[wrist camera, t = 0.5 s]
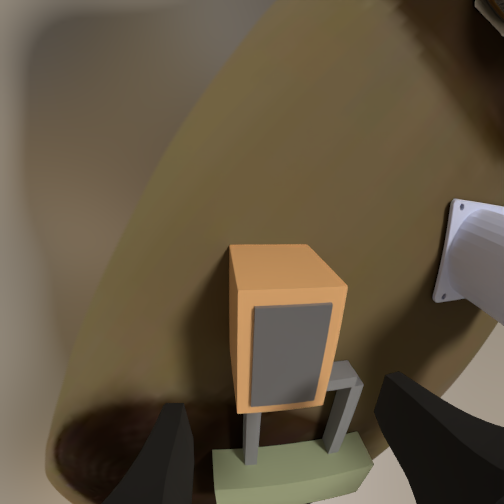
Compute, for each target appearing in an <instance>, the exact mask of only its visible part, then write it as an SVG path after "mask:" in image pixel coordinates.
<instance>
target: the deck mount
mask: <svg viewBox="0 0 504 504" xmlns="http://www.w3.org/2000/svg"><path fill="white" fill-rule="evenodd" d="M363 385H364V384H363V383H362V381H361V380H360V378H359V376H358V375H357V373H356V372H355V370H354V369H353V368H352V366H351V365H350V363H349V361H348V360H345V361H338V362H333V365H332V370H331V374H330V378H329V382H328V386H327V390H326V391H332V390H337V392H336V395H335V399H334V402H333V406H332V409H331V412H330V416H329V419H328V422H327V425H326V428H325V431H324V435H323V438H322V439H318V440H312V441H306V442H299V443H292V444H285V445H276V446H267V447H258V444H259V432H260V420H261V412H258V413H243V448H242V449H220V450H212V456H213V473H214V488H215V495H216V501H217V504H306V503H311V502H316V501H320V500H325V499H330V498H334V497H338V496H342V495H345V494H349V493H353V492H356V491H357V489H358V488H359V487H360V485H361V483H362V482H363V481H364V479H365V478H366V476H367V474H368V473H369V471H370V470H371V468H372V467H373V465H374V463H373V461H372V459H371V457H370V455H369V453H368V451H367V449H366V447H365V445H364V443H363V441H362V439H361V437H360V435H359V433H358V431H357V432H352V433H348V434H346V432H347V429H348V427H349V424H350V422H351V419H352V417H353V414H354V411H355V408H356V406H357V403H358V400H359V397H360V394H361V391H362V388H363Z"/></svg>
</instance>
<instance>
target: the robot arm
mask: <svg viewBox="0 0 504 504" xmlns="http://www.w3.org/2000/svg"><path fill="white" fill-rule="evenodd" d="M460 205H461V207H460ZM442 295H443V296H442ZM432 298H433V300H434V301H435V302H436V303H439V302H446V301H452V300H459V299H465V298H466V299H467V300H469V301H470V302H472V303H473V304H474V305H476V306H477V307H479V308H480V309H481V310H483V311H484V312H486V313H487V314H488V315H490V316H491V317H492V318H494V319H495V320H497V321H498V322H499V323H501V324H502V325H503V326H504V207H503V206H498V205H492V204H486V203H480V202H474V201H467V200H461V199H453V200H452V202H451V204H450V212H449V219H448V225H447V231H446V237H445V243H444V248H443V253H442V258H441V263H440V268H439V272H438V276H437V281H436V285H435V289H434V293H433V297H432ZM374 413H375V415H376V418H377V421H378V424H379V426H380V429H381V431H382V433H383V435H384V437H385V439H386V441H387V442H388V444H389V446H390V448H391V449H392V451H393V453H394V455H395V457H396V458H397V460H398V462H399V464H400V466H401V467H402V469H403V471H404V472H405V475H406V477H407V479H408V481H409V484H410V486H411V489H412V492H413V494H414V497H415V500H416V503H417V504H504V427H501V426H498V425H494V424H492V423H489V422H486V421H484V420H481V419H479V418H476V417H474V416H472V415H470V414H468V413H466V412H464V411H462V410H460V409H458V408H456V407H454V406H453V405H451V404H449V403H448V402H446V401H444V400H442V399H441V398H439V397H438V396H436V395H435V394H433V393H431V392H430V391H428V390H427V389H425V388H424V387H422V386H421V385H419V384H418V383H416V382H415V381H413V380H412V379H410V378H409V377H407V376H406V375H404V374H402V373H401V372H399V371H398V372H395V373H391V374H387V375H385V378H384V381H383V384H382V388H381V391H380V394H379V397H378V400H377V403H376V406H375V409H374ZM193 473H194V443H193V435H192V432H191V428H190V425H189V421H188V418H187V414H186V410H185V406H184V403H166V404H165V405H164V406H163V408H162V410H161V413H160V415H159V417H158V419H157V421H156V423H155V425H154V427H153V429H152V431H151V433H150V435H149V437H148V439H147V441H146V442H145V444H144V446H143V448H142V449H141V451H140V453H139V455H138V456H137V458H136V459H135V461H134V462H133V464H132V465H131V467H130V468H129V470H128V471H127V473H126V474H125V476H124V477H123V478H122V480H121V481H120V482H119V484H118V485H117V486H116V487H115V489H114V490H113V491H112V492H111V494H110V495H109V496H108V497H107V498H106V499H105V500H104V501H103V502H102V504H191V502H192V487H193Z"/></svg>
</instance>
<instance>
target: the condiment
mask: <svg viewBox="0 0 504 504" xmlns="http://www.w3.org/2000/svg"><path fill="white" fill-rule="evenodd" d="M475 7H476V8H477V9H478V10H479V11H480V12H481V14H482V15H483V16H484V17H485V18H486V19H487V20H488V21H489V22H490V23H491V24H492V25H493V26H494V27H495V28H496V29H497V30H498V31H499V32H500V33H501V35H502V36H503V37H504V0H475Z"/></svg>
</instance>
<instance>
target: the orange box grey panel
mask: <svg viewBox="0 0 504 504" xmlns="http://www.w3.org/2000/svg"><path fill="white" fill-rule="evenodd" d="M347 288H348V286H347V285H346V284H345V283H344V282H343V281H342V280H341V278H340V277H339V276H338V275H337V274H336V273H335V272H334V271H333V270H332V269H331V268H330V267H329V266H328V265H327V264H326V263H325V262H324V261H323V260H322V259H321V258H320V257H319V256H318V255H317V254H316V253H315V252H314V251H313V250H312V249H311V248H310V247H309V246H308V245H307V244H276V245H229V345H230V357H231V366H232V375H233V383H234V392H235V400H236V408H237V414H243V413H258V412H270V411H281V410H290V409H298V408H306V407H313V406H319V405H323V402H324V398H325V394H326V390H327V386H328V382H329V378H330V374H331V370H332V365H333V361H334V357H335V352H336V347H337V343H338V338H339V333H340V328H341V322H342V317H343V312H344V306H345V300H346V294H347Z"/></svg>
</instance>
